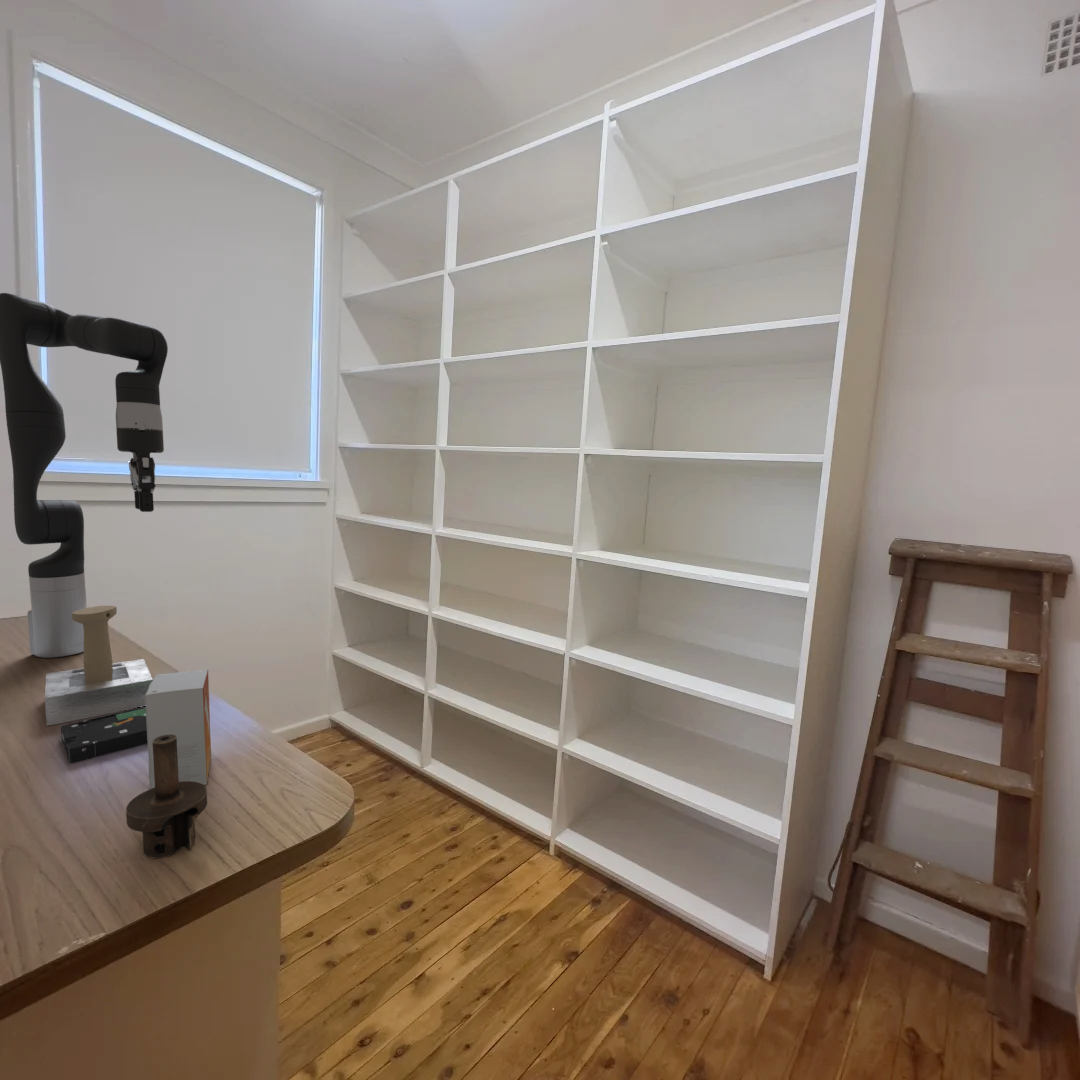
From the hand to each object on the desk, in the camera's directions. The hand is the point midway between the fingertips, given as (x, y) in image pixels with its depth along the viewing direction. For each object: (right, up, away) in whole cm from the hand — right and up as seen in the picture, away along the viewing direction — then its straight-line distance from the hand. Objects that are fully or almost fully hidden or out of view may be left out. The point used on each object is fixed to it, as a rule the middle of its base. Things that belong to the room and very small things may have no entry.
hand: (144, 510), depth 114 cm
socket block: (+3, -34, -15) cm, 37 cm away
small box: (+32, -37, -38) cm, 62 cm away
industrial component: (+38, -39, -52) cm, 75 cm away
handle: (+3, -33, -15) cm, 36 cm away
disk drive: (+16, -36, -27) cm, 48 cm away
